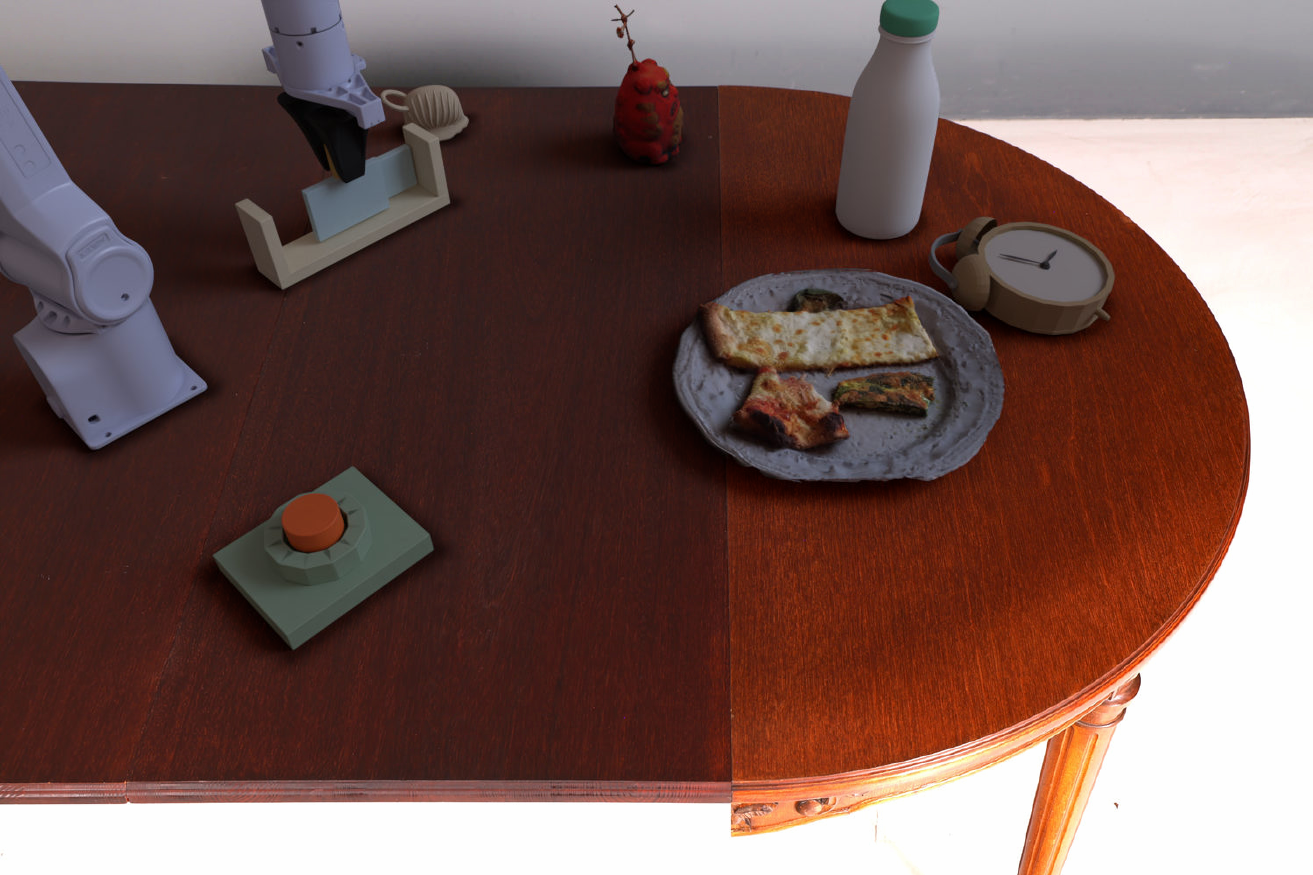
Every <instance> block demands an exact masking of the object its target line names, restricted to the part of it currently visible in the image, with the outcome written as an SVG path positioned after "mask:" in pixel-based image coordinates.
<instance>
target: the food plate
mask: <svg viewBox="0 0 1313 875" xmlns="http://www.w3.org/2000/svg"><path fill="white" fill-rule="evenodd" d="M677 342H678V344H677V346H676V348H675V351H674V358H673V364H672V370H671V373H672V374H671V384H672V385H671V387H672V389H673V394H674V396H673V397H674V399H675V401H676V402H677V405H678V406H679V408H680V409H681V411H682V413H683V414H684V415H685V416H686V417H687V418H688V420H689V421H691V423H692V424H693V425H694V427H695V428H696V429H697V431H698V432H699V434H700V435H701V438H702V440H703V441H704V443H705V444H707V445H709V446H711V447H712V448H713V449H714V450H715V452H718V453H720V454H722V455H723V456H724V455H725V457H726V459H725V462H729V461H730V458H729V457H730V456H729V455H731V456H732V458H733V460H734V461H735V462H736V463H737V465H739V466H741V467H743V468H746V467H754V468H756V469H758V470H759V473H760V474H761V475H762V476H764V477H765V478H770V479H775V480H776V479H777V480H780V481H782V480H785V481H792V482H797V483H803V482H801V481H800V480H804V481H805V482H807V481H808V482H814V481H815V482H819V481H821V482H824V483H825V482H833V483H835V482H842V483H845V482H847V483H858V482H860V481H870V482H871V481H877V482H879V481H883V482H887V481H891V480H896V479H897V480H898V479H899V480H900V479H904V478H908V479H914V480H915V479H916V480H920V481H924V482H925V481H926V482H929V481H932V480H935V479H938V478H939V477H940V478H941V477H944V476H945V475H947V474H949V473H950V472H951V473H952V472H954V471H955V470H958V469H959V468H960V467H963V466H965V465H966V464H967V463H968V462H969V461H970V460H971V459H972V458H974V456H977V454H978V453H979V452H980V449H981V448H982V446H984V444H985V442H986V441H987V439H988V438H987V437H988V436H989V433H990V431H992V430H993V428H994V426H995V424H996V423H997V421H998V420H999V419H1000V418H1001V414H1002V409H1003V408H1004V407H1003V405H1004V404H1003V403H1004V400H1005V399H1004V398H1005V397H1004V395H1005V389H1006V386H1007V385H1006V384H1005V383H1006V382H1005V383H1004V381H1005V380H1004V379H1005V376H1004V373H1003V372H1004V371H1003V369H1002V366H1001V363H1000V362H999V357H998V355H997V352H996V349H995V346H994V344H993V343H994V342H993V340H992V338H991V334H990V333H989V332H988V330H986V329H985V328H984V327H983V326H982V325H981V324H980V323H978V322H977V321H976V320H975V319H974V318H972V317H971V316H970V315H969V314H968V312H967V310H966V309H964V308H962V307H961V306H959V305H958V303H956V302H954V301H953V300H952V299H951V298H949V297H948V296H946V295H945V294H943V293H941V292H939V291H937V290H936V289H935V288H932V287H930V286H927V285H924V284H922V283H920V282H918V281H914V280H912V279H908V278H902V277H897V276H893V275H890V274H887V273H884V272H880V271H877V270H875V269H873V271H871V269H869V268H860V267H855V268H854V267H853V268H852V267H851V268H847V267H844V268H843V267H840V268H839V267H837V268H820V269H806V270H803V269H802V270H793V271H792V270H791V271H783V272H779V273H778V274H776V272H773V273H767V274H764V275H759V276H757V277H753V278H750V279H747V280H745V281H742V282H741V283H738V284H737V285H735V286H732V287H731V288H729V289H728V290H727V291H725V292H724V293H722V295H720V296H719V297H715V299H714V300H711V301H710V302H709V301H707V303H704V304H702V303H700V304H699V305H698V307H697V311H696V312H695V315H694V316H693V318H692V321H691V322H690V323H689V325H688V326H686V328H685V329H684V330H683V331H682V332H681V334H680V336H679V337H678V341H677Z"/></svg>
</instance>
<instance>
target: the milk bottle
mask: <svg viewBox="0 0 1313 875" xmlns="http://www.w3.org/2000/svg"><path fill="white" fill-rule="evenodd" d="M879 12H880V13H879V25H878V27H877V31H878V33H879V40H878V43H877V45H876V47H875V49H874V52H873V53H872V55H871V57H870V59H869V60H868V62H867V64H866V65H865V66H864V68H863V70H862V72H861V73H860V75H859V77H858V78H857V81H856V83H855V85H854V88H853V91H852V94H851V97H850V101H849V106H848V113H847V117H846V118H847V119H846V126H845V132H844V141H843V146H842V147H843V148H842V155H841V161H840V162H841V163H840V170H839V178H838V179H839V180H838V185H837V194H836V203H835V214H836V218H837V221H838V222H839V223H840V225H841V226H842V227H844V229H846V230H847V231H849V232H851V233H852V234H854V235H857V236H859V237H862V238H865V239H866V238H867V239H873V240H891V239H895V238H900V237H903V236H905V235H906V234H909V233H910V232H911V231H912V230H913V229H914V228H915V227H916V226H917V224H918V223H919V220H920V217H921V212H922V207H923V202H924V197H925V192H926V188H927V182H928V176H929V171H930V166H931V161H932V157H933V150H934V145H935V140H936V139H935V138H936V135H937V128H938V122H939V115H940V107H941V91H940V85H939V80H938V76H937V73H936V70H935V66H934V61H933V56H932V39H933V38H935V36H936V34H937V31H936V29H937V27H938V23H939V18H940V7H939V5H938V4H937V3H936V2H935V1H933V0H884V2H883V3H882V5H881V8H880V11H879Z"/></svg>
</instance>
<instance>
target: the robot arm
mask: <svg viewBox="0 0 1313 875" xmlns="http://www.w3.org/2000/svg"><path fill="white" fill-rule="evenodd" d="M260 3H261V7H262V10H263V13H264V17H265V20H266V25H267V27H268V31H269V35H270V37H271V41H272V42H271V43H272V45H269V46H267V47H264V48H262V49H261V53H262V56H263V59H264V63H265V67H266V70H267V71H268V72H270V73H271V74H274V75H276V76H277V78H278V80H279V82H280V84H281V87H282V89H283V92H280V93H279V94H278V95H277V96H276V101H277V103H278V104H279V106H281V107H282V109H283V110H284V111H286V113H288V115H289V116H290V117H291V118H292V120H293V121H294V122H295V124H296V125H297V127H298V128H299V129H300V131H301V132H302V134H303V135H304V137H305V139H306V141H307V142H308V144H309V146H310V148H311V149H312V151H313V154H314V155H315V157H316V159H317V160H318V162H319V164H320V165H321V167H322V169H323V170H325V172H331V170H330V166H329V162H328V159H327V155H326V151H325V147H324V144H325V146H326V148H327V150H328V152H329V155H330V157H331V160H332V163H333V165H334V168H335V170H336V172H337V174H338V176H339V177H340V179H341V180H342V181H343V182H344V183H349V182H351V181H353V180H355V179H357V178H360V177H362V176H364V175H365V164H366V160H367V159H366V158H367V143H368V135H369V132H370V131H369V130H370V128H371V127H375V126H377V125H379V124H381V123H382V122H385V121H386V116H385V112H384V107H383V102H382V101H381V98H380V97H379V96H378V95H376V94H375V93H374V92H373V91H372V89H371V88H370V87H369V85H368V83H367V81H366V80H365V78H364V77H363V75H362V73H361V71H364V70H365V69H366V68H367V63H366V60H365V58H364V57H361V56H360V55H358V54H357V53H352V51H351V49H350V48H351V47H350V43H349V40H348V34H347V30H346V27H345V21H344V18H343V13H342V8H341V4H340V0H260ZM9 77H10V76H8V74H7V73H6V71H5V70H4V67H3V66H2V64H1V63H0V273H1V274H2V275H3V276H4V277H5V278H6V279H8V280H10V281H11V282H13V283H15V284H18V285H22V286H25V287H27V288H28V291H29V292H30V294H31V297H32V298H33V299H32V300H33V304H34V308H35V310H36V313H37V315H36V316H35V317H34V318H33V319H32V320H31V321H30V322H29V323H27V324H26V325H25V326H24V327H23V328H21V329H20V330H18V331H17V332H15V333H13V334H12V339H13V342H14V344H15V345H16V347H17V350H18V351H19V353H20V355H21V356H22V358H23V359H24V361H25V363H26V365H27V366H28V368H29V369H30V371H31V373H32V375H33V376H34V378H35V380H36V381H37V383H38V385H39V386H40V388H41V390H42V392H43V393H44V395H45V396H46V401H47V403H48V405H49V406H50V408H51V409H52V410H53V412H54V414H55V415H56V416H57V417H58V418H59V419H62V420H64V422H66V423H67V425H68V426H69V427H70V428H71V429H72V430H73V431H74V432H75V434H76V435H77V436H78V437H79V438H80V439H81V441H82V442H84V444H86V446H87V447H88V448H89V449H90V450H92V451H95V450H99V449H102V448H104V447H105V446H106V445H109V444H110V443H113V442H114V441H116V440H118V439H119V438H121V437H123V436H125V435H127V434H129V433H130V432H132V431H134V430H136V429H138V428H140V427H141V426H143V425H145V424H147V423H148V422H151V421H153V420H154V419H156V418H158V417H160V416H162V415H164V414H165V413H167V412H169V411H170V410H172V409H174V408H176V407H178V406H179V405H181V404H183V403H185V402H187V401H189V400H191V399H192V398H195V397H196V396H198V395H200V394H202V393H203V392H205V391H206V390H207V389H208V385H207V383H206V381H205V380H204V379H203V378H201V377H200V375H198V374H197V373H196V372H195V371H194V370H193V369H192V368H190V367H189V365H187V364H186V363H185V362H184V361H183V360H182V359H181V358H180V357H179V356H178V355H177V354H176V352H175V350H174V348H173V346H172V343H171V341H170V339H169V337H168V334H167V332H166V330H165V327H164V325H163V324H162V321H161V319H160V317H159V315H158V313H157V310H156V308H155V306H154V304H153V301H152V299H151V297H150V294H151V292H152V289H153V285H154V280H155V279H154V278H155V276H154V273H155V272H154V266H153V262H152V260H151V257H150V255H149V254H148V252H147V251H146V250H145V248H144V246H143V247H142V245H141V244H139V243H138V242H136V241H134V240H132V239H130V238H129V237H127V236H125V235H124V234H123V233H122V232H121V231H119V229H118V227H117V226H116V225H115V223H114V221H113V218H111V216H110V215H109V214H108V213H107V212H106V211H105V210H104V209H102V208H101V207H100V206H99V205H98V203H97V202H95V201H94V200H93V199H91V197H89V196H88V195H87V194H86V193H85V192H84V191H83V190H82V189H81V188H80V187H79V186H78V185H77V184H75V182H74V181H72V179H71V178H70V176H69V174H68V172H67V171H66V169H65V167H64V166H63V164H62V163H61V161H60V159H59V158H58V156H57V155H56V153H55V151H54V150H53V149H54V148H52V146H51V145H50V143H49V141H48V139H47V138H46V137H45V134H44V133H43V131H42V130H41V128H40V126H39V124H38V122H36V120H35V118H34V117H33V115H32V114H31V112H30V111H29V109H28V107H27V105H26V103H25V102H24V101H23V99H22V97H21V95H20V93H19V92H18V91H17V89H16V87H15V86H14V84H13V82H12V81H11V79H10V78H9Z"/></svg>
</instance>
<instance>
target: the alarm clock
mask: <svg viewBox="0 0 1313 875" xmlns="http://www.w3.org/2000/svg"><path fill="white" fill-rule="evenodd" d="M955 242H956V243H955ZM952 243H955V250H954V251H955V257H956V260H957V263H955V265H954V266H953V269H952V271H951V272H950V271H949V270H948V269H947V268H945V267H944V266H943V265H942V264H941V263H940V262H939V261H938V259H937V257H936V252H935V251H936V250H937V249H939V248H940V247H942V246H944V245H947V244H952ZM928 264H929V268H930V269H931V271H932V272H933V273H934V274H935V276H937V277H938V278H939V279H941V280H942V281H943V282H944V283H946V284H947V286H948V288H949V289H950V291H951V294H952V297H953V299H954V301H955V303H956V304H957V305H959V306H961V307H962V308H964V310H965V311H970V312H979V311H982V309H984V310H985V311H986V312H988V313H989V315H991V316H993V317H994V318H996V319H998V320H1000V321H1002V322H1004V323H1005V324H1007V325H1009V326H1012V327H1015V328H1018V329H1021V330H1024V331H1028V332H1029V333H1035V334H1042V335H1050V336H1057V335H1068V334H1075V333H1078V332H1080V331H1082V330H1084V329H1087V328H1089V327H1090V326H1091V325H1092V324H1093V323H1094V322H1095V321H1096V320H1097V319H1098V318H1099V319H1101V320H1104V321H1106V322H1108V321H1109V320H1110V319H1111V316H1110V315H1109V314H1108V313H1107V312H1106V311H1105V310H1104V309H1102V308H1103V307H1104V304H1105V303H1106V301H1107V298H1108V297H1109V294H1110V293H1111V292H1112V290H1113V286H1114V283H1115V280H1116V276H1115V272H1114V268H1113V264H1112V263H1111V262H1110V261H1109V259H1108V258H1107V256H1106V255H1105V254H1104V252H1103V250H1101V249H1099V248H1098V247H1097V246H1095V245H1094V244H1093V243H1092V242H1090V241H1089V240H1088V239H1086V238H1084V237H1082V236H1080V235H1078V234H1076V233H1074V232H1072V231H1071V230H1068V229H1064V228H1061V227H1058V226H1055V225H1051V224H1048V223H1040V222H1034V221H1033V222H1032V221H1019V222H1007V223H1004V224H1001V225H999V226H998V221H997V219H996V218H993V217H990V216H980V217H977V218H974V219H973V220H971V221H970V222H969V223H967V225H966V226H964V228H958V229H957V231H956V232H949V233H945V234H943V235H940V236H938V237H937V238H936V239H935V240H934V241H933V243H932V245H931V248H930V251H929V254H928Z"/></svg>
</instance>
